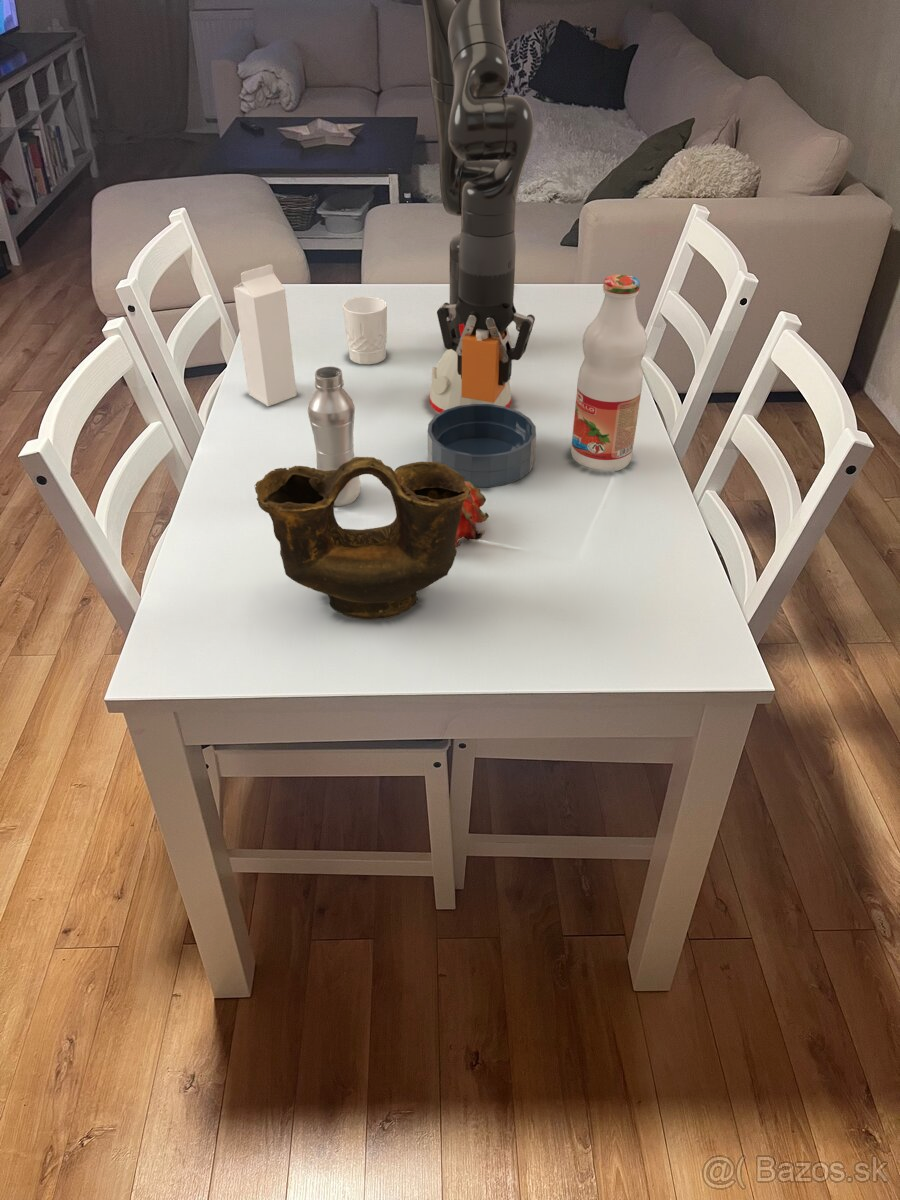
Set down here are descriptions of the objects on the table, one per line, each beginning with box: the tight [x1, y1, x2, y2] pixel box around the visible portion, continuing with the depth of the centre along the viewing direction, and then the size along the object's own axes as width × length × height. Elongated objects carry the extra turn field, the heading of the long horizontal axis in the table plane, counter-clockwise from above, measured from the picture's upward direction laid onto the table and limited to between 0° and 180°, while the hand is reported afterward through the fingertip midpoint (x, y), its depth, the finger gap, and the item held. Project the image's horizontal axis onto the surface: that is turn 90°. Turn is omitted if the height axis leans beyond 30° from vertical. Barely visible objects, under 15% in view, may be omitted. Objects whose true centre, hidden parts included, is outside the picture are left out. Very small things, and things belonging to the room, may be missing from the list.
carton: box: [462, 327, 509, 403], centre depth 134 cm, size 6×5×10 cm
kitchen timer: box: [429, 324, 512, 414], centre depth 155 cm, size 14×14×15 cm
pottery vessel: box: [254, 456, 471, 620], centre depth 113 cm, size 25×11×20 cm, turn 96°
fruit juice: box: [570, 274, 648, 472], centre depth 137 cm, size 9×9×28 cm
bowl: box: [427, 404, 537, 488], centre depth 143 cm, size 16×16×6 cm
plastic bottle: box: [307, 366, 362, 507], centre depth 130 cm, size 6×7×20 cm
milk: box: [233, 263, 298, 407], centre depth 155 cm, size 6×6×22 cm
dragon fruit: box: [455, 481, 490, 549], centre depth 127 cm, size 8×8×12 cm
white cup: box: [342, 296, 388, 365], centre depth 171 cm, size 8×8×10 cm
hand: (483, 379), depth 136 cm, fingers closed on carton, 5 cm apart
